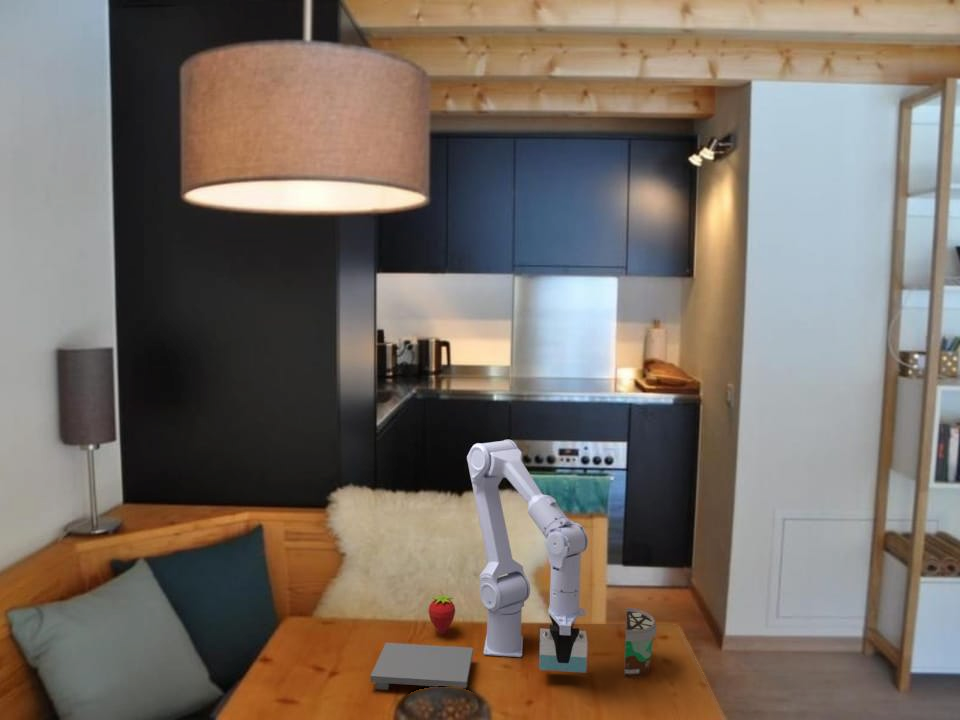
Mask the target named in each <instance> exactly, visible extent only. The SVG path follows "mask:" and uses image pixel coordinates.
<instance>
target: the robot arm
mask: <svg viewBox="0 0 960 720" xmlns="http://www.w3.org/2000/svg"><path fill="white" fill-rule="evenodd" d="M518 447H519V446H517V444H516V443H515V442H514V441H513V440H511V439H504V440H500V441H491V442H483V443H479V442H477V443H475V444H473V445H472V447H471V448H470V450H469V452H468V454H467V456H466V461H467V465H468V470H469V476H470V480H471V485H472V491H473V494H474V495H473V497H474V502H475V506H476V510H477V511H476V512H477V515H478V521H479V526H480V531H481V535H482V536H481V537H482V540H483V541H482V542H483V546H484V551H485V556H486V562H487V564H486V566H485V567H484V568H483V570H482V571H481V572H480V574H479V576H478V577H479V582H480V584H479V586H480V588H479V598H480V600H481V604H483V606H484V608H485V609H486V610H487V620H486V622H487V623H486V624H487V626H486V635H485V636H486V637H485V641H484V648H483V655H485V656H495V657H498V656H499V657H512V658H513V657H514V658H521V657H522V656H523V647H524V646H523V645H524V644H523V641H524V636H523V635H522V634H521V633H522V608H523V607H525V602H526V601H527V600H528V599H529V598H530V595H531V585H530V581H529V579H528V577H527V576H526V575H525V572H524V566H523V564H520V563H519V562H518V561H516V560H514V559H513V554H512V550H511V545H510V540H509V535H508V531H507V530H508V529H507V525H506V520H505V515H504V511H503V505H502V500H501V496H500V491H499V485H500V483H501V482H502V480H503V479H504V478H505V479H507V481H508V482H509V483H510V484H511V485H512V487H513V488H514V489H516V491H517V492H518V493H519V494H520V496H521V497H522V498H523V500H525V501H526V503H527V504H528V505H527V506H528V509H527V513H528V516H530V518H531V519H532V521H533V522H534V523H535V525H536V526H537V528H538V529H539V530H540V532H541V533H542V535H543V536H544V538H545V540H544V546H545V550H546V552H547V554H548V562H549V565H550V581H549V582H550V583H549V585H550V586H549V607H548V610H547V612H548V613H547V614H548V616H549V619H550V620H551V624H549V629H550V633H551V635H552V637H553V640H554V643H555V649H556V657H557V661H558V663H569V660H570V656H571V652H572V648H573V644H574V642H575V640H576V638H577V637H578V635H579V631H580V628H578V627H577V628H575V627H574V625H575V623H576V621H577V619H578V618H580V617H584V616H586V610H585V608H580V591H581V565H582V563H581V562H582V553H583V552H585V551H586V549H587V548H588V543H589V539H588V535H587V531H586V530H585V529H584V527H583V526H582V525H581V524H580V523H576V522H574V521H573V520H572V519H569V518H568V516H567V515H566V514H565V513H564V512H563V510H562V509H561V508H560V506H559V505H558V504H557V500H556V499H555V498H554V497H552V496H551V495H550V494H548V495H547V494H543V492H542V491H541V490H540V488H539V487H538V484H537V483H536V482H535V480H534V479H533V477H532V476H531V474H530V473H529V471H528V469H527V467H526V466H525V464H524V463H523V453H522V451H521V450H520V449H519V448H518Z"/></svg>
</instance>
